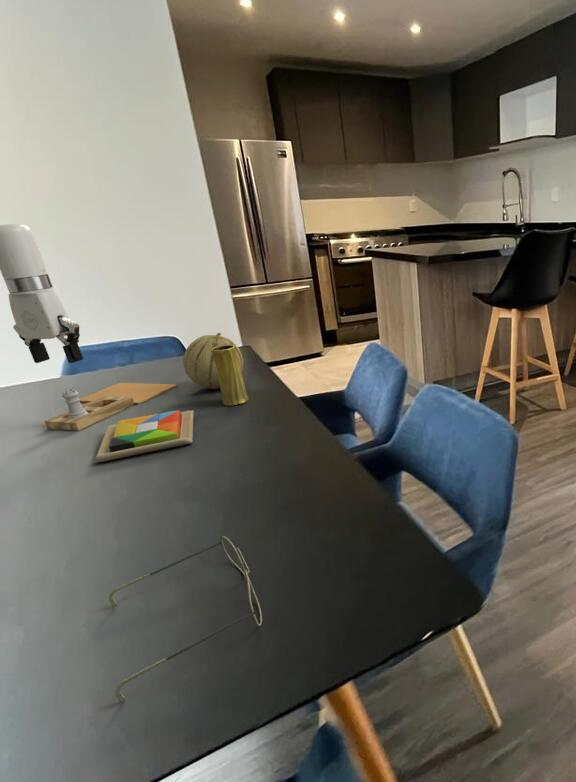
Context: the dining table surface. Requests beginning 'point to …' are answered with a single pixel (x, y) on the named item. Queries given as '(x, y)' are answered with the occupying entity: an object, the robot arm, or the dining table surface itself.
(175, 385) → the cork mat
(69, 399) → the rook chess piece
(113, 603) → the eyeglasses
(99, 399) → the holder
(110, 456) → the wooden puzzle
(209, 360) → the cantaloupe
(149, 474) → the dining table surface
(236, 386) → the vase
